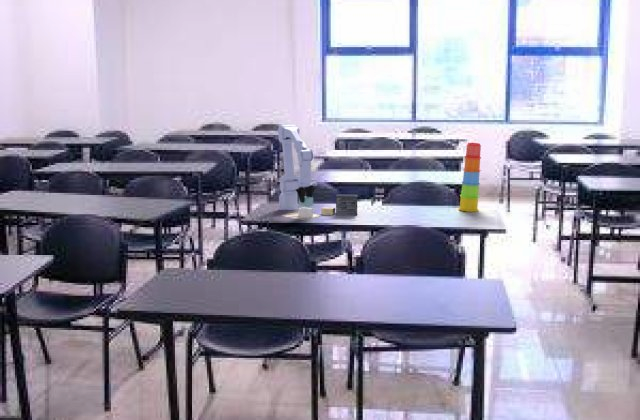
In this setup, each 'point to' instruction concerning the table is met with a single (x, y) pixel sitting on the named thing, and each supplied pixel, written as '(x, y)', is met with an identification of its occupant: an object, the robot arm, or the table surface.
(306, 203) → the teal brick
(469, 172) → the stacking cups
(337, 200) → the small box
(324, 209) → the mustard brick
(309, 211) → the white brick
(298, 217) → the building board
